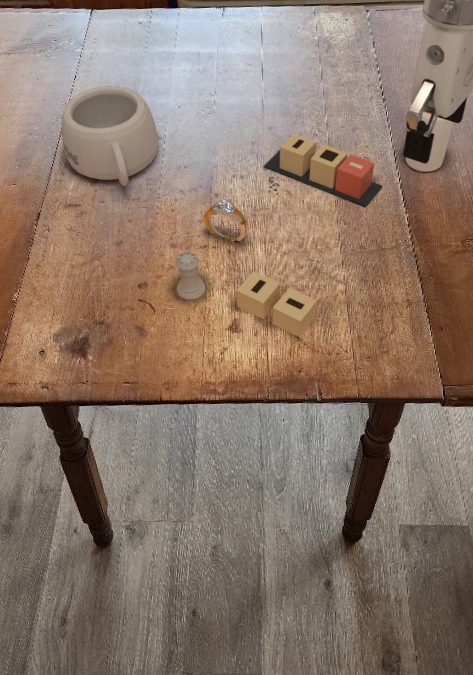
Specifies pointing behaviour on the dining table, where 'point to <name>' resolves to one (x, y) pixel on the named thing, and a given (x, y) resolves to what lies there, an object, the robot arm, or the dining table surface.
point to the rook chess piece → (189, 276)
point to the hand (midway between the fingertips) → (432, 138)
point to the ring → (227, 210)
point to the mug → (109, 133)
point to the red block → (354, 176)
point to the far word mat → (315, 167)
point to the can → (434, 144)
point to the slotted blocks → (276, 303)
